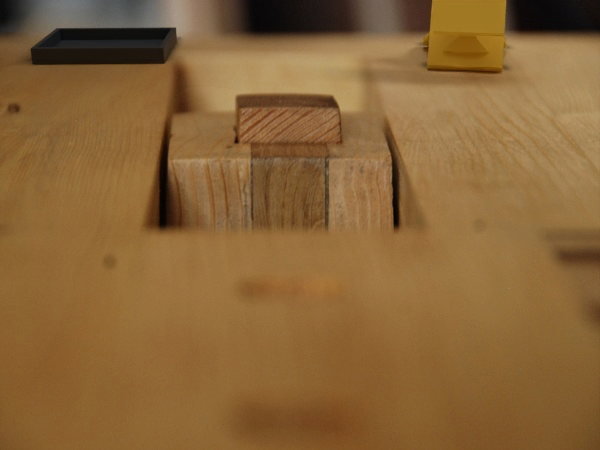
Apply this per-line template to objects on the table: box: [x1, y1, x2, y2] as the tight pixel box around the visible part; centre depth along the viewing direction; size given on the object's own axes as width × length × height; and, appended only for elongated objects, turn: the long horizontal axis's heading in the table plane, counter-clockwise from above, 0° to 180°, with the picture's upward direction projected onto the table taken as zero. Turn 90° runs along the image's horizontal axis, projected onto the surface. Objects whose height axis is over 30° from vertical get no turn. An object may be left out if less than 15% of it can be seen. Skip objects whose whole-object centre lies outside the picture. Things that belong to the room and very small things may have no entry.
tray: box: [30, 26, 178, 65], centre depth 140 cm, size 22×17×3 cm
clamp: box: [422, 0, 508, 73], centre depth 132 cm, size 14×25×12 cm
